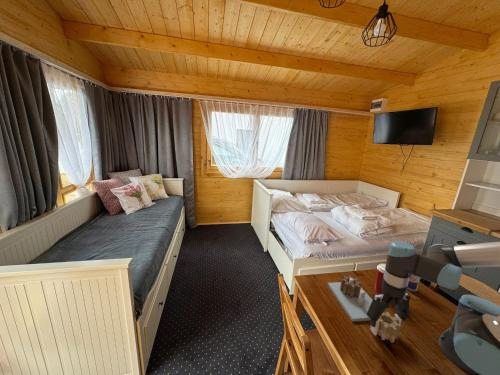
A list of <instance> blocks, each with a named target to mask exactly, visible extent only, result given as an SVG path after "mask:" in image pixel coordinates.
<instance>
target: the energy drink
mask: <svg viewBox="0 0 500 375" xmlns="http://www.w3.org/2000/svg"><path fill="white" fill-rule="evenodd" d="M420 281H421V278H420V277H417V276H415V275H412V274H410V277H409V281H408V286H407V290H408V291H410V292H412V293H413V292H417V291H418V287H419V283H420Z"/></svg>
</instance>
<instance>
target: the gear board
mask: <svg viewBox="0 0 500 375" xmlns="http://www.w3.org/2000/svg"><path fill="white" fill-rule="evenodd" d="M349 283H351V284H353V283H354V279H352V278H350V279H349ZM340 286H341V282H340V281H338V282H327V287H328V288H329V290H330V291H331V294H333V296H334V297H335V299H336V300H337V301H338V303H339V304H340V306H341V308H342V309H343V310H344V312H345V313H346V315H347V316H348V318H349V319H350V321H351V322H366V321H371V319H370V318H369V317H368V315H367V312H368V310H369V307H370V305H371V303H372V300H373V298H371V297H370V296H369V294H368V293H367V292H366V291H365V290H364V289H363V287H361V289H360V294H359V297H358V298H357V297H355V296H354V297H353V298H350V296H348V295H347V294H346V295H344V294H343V291H342V290H340ZM383 313H385V311H384V312H383Z"/></svg>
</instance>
